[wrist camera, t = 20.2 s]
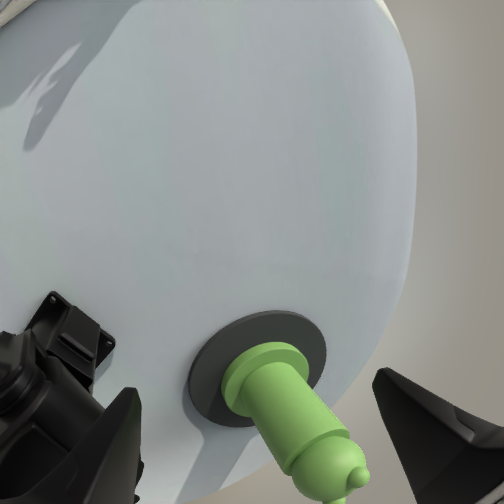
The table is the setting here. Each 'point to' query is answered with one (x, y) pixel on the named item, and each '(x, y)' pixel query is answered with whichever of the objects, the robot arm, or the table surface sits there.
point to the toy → (295, 422)
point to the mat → (240, 340)
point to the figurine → (13, 10)
